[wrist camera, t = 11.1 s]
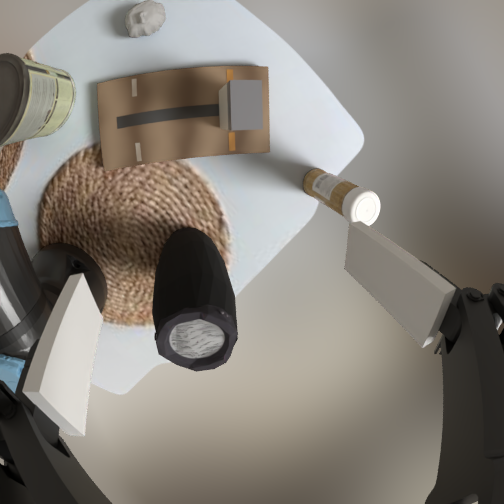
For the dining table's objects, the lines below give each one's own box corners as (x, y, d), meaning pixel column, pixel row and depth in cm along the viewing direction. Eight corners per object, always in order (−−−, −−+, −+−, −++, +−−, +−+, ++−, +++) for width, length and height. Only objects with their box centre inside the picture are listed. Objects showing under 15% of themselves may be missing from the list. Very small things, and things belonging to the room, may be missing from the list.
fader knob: (219, 128, 31) (231, 130, 23) (218, 91, 29) (230, 80, 21) (243, 127, 32) (262, 129, 24) (242, 90, 29) (261, 80, 22)
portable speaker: (148, 255, 39) (131, 352, 22) (189, 210, 37) (195, 289, 21) (190, 286, 43) (200, 385, 26) (230, 246, 42) (265, 336, 25)
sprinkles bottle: (309, 201, 41) (356, 236, 30) (297, 176, 39) (345, 203, 27) (332, 187, 41) (385, 216, 29) (322, 162, 39) (376, 184, 27)
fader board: (108, 168, 32) (104, 171, 30) (101, 85, 26) (97, 83, 24) (265, 150, 36) (269, 152, 34) (263, 69, 30) (268, 66, 29)
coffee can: (20, 142, 25) (-38, 160, 13) (23, 78, 21) (-34, 72, 9) (75, 131, 28) (23, 140, 16) (80, 62, 23) (32, 39, 11)
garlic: (157, 45, 26) (153, 33, 21) (121, 39, 24) (112, 28, 19) (174, 10, 23) (173, -5, 19) (138, 5, 22) (132, -10, 17)
